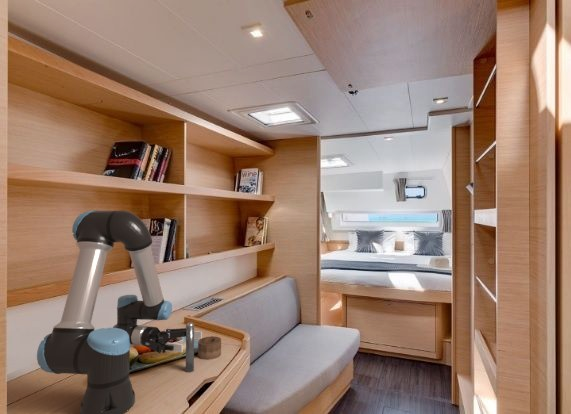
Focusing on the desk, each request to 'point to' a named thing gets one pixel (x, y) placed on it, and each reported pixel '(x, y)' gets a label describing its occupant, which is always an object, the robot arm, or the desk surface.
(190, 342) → the round-tipped metal rod
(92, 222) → the robot arm
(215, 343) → the bead
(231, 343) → the desk surface
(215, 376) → the desk surface
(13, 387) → the desk surface
